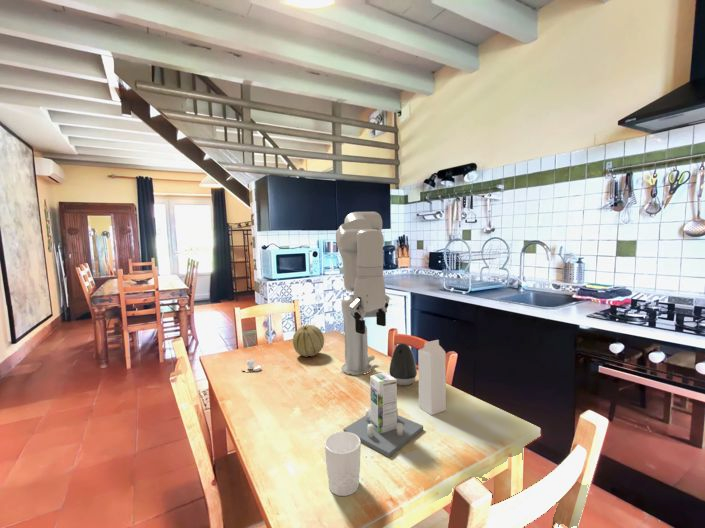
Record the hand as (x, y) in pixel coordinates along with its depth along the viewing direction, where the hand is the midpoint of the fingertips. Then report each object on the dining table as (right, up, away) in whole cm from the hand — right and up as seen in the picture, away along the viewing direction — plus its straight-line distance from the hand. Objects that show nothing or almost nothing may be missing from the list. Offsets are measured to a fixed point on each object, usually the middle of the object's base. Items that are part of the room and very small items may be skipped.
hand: (371, 329), depth 98 cm
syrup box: (+3, -27, -5) cm, 28 cm away
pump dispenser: (+14, -26, +26) cm, 39 cm away
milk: (+20, -27, +7) cm, 34 cm away
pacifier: (-49, -27, +41) cm, 69 cm away
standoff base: (+3, -28, -5) cm, 29 cm away
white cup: (-7, -30, -25) cm, 40 cm away
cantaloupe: (-26, -24, +58) cm, 68 cm away
